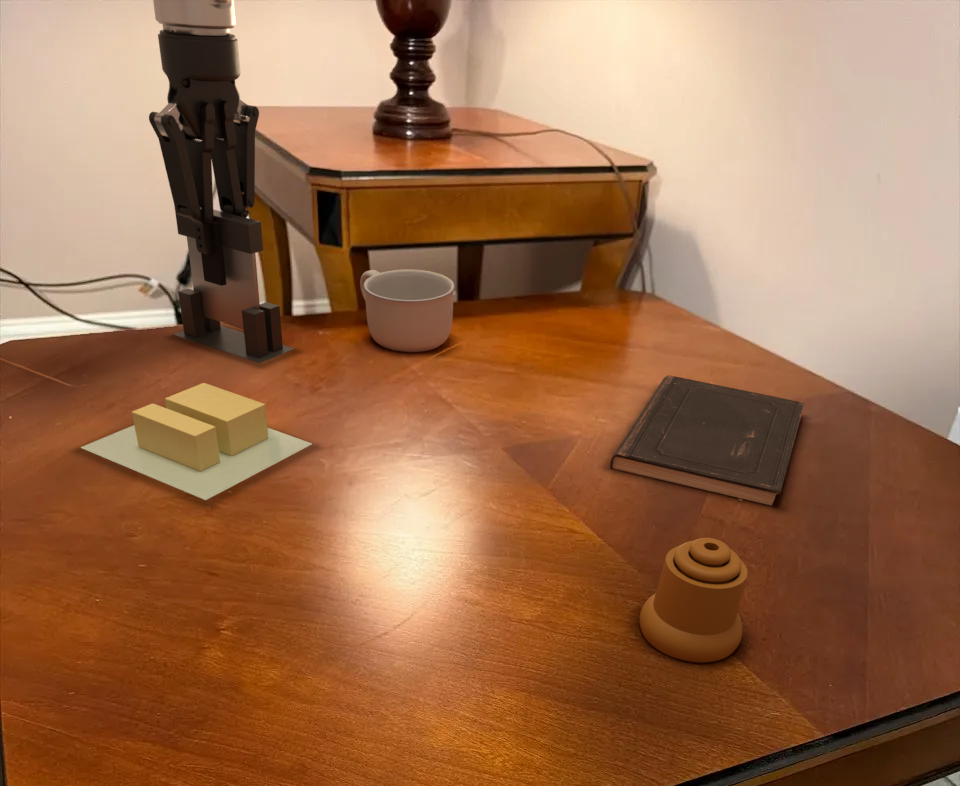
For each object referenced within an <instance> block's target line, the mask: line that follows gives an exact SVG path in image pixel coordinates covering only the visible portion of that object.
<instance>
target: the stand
mask: <svg viewBox="0 0 960 786" xmlns="http://www.w3.org/2000/svg"><path fill="white" fill-rule="evenodd" d="M177 294H178V303H179V307H180V314H181V321H182V327H183V330H181V331H178V332H175V333H172V336H175V337H178V338H181V339H185V340H188V341H191V342H194V343H197V344H200V345H202V346H206V347H207V348H208V347H209V348H211V349H215V350H218V351H220V352H224V353H227V354H230V355H234V356H236V357H238V358H239V357H240V358H243V359H246V360H249V361H251V362H255V363H258V364H262V363H264V362H266V361H268V360H271V359H274V358H276V357H279V356H281V355H284V354H286V353H288V352H291V351H294V350H295V348H294V347H291V346H287V345H284V344H283V333H282V321H281V307H280V305H278V304H274V303H272V302H268V301H266V302H262V303H260V310H259V309H256V308H252V307H250V308H248V309H245V310H242V319H243V329H242V330H243V332H242V331H239V330H236V329H233V328H230V327H226V326H223V325H221V322H219V321H216V320H213V319H210V318H207V317H204V316H203V311H202V303H201V296H200V292H198V291H195V290H194V289H192V288H184V289H181V290H178V291H177Z"/></svg>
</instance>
